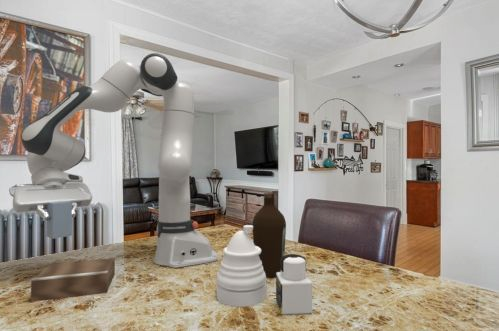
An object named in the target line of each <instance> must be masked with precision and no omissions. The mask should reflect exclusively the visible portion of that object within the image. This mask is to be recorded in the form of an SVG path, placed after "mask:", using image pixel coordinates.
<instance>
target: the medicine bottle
mask: <svg viewBox="0 0 499 331" xmlns="http://www.w3.org/2000/svg"><path fill="white" fill-rule="evenodd" d="M275 283H276V284H275V300H276V304H277V306H278V309H279V311H280V313H281V315H302V314H303V315H304V314H307V315H308V314H313V281H312V280H311V279H310V278H309V277H308V275H307V259H306V257H305V256H303V255H301V254H296V253H287V254H285V255H284V256H282V257H281V272H277V273H276V277H275Z"/></svg>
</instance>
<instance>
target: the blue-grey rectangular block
mask: <svg viewBox="0 0 499 331" xmlns="http://www.w3.org/2000/svg"><path fill="white" fill-rule="evenodd" d="M48 212H49V213H50V216H51V218H50V220H48V221H46V234H45V235H46V237H47V238H50V239H60V238H65V237H71V236H73V218H72V202H69V201H62V202H48V204H47V210H46V213H48Z"/></svg>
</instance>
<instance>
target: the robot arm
mask: <svg viewBox="0 0 499 331" xmlns="http://www.w3.org/2000/svg"><path fill="white" fill-rule="evenodd" d="M138 91H142V92H144V93H147V94H150V95H152V96H155V97H163V108H162V109H163V110H162V120H161V121H162V122H161V124H162V125H161V132H160V144H159V145H160V146H159V154H158V173H159V174H158V220H157V224H156V236H157V243H156V251H155V255H154V258H153V262H154V264H156V265H159V266H160V265H161V266H163V267H164V266H166V267H170V268H174V269H176V268H183V267H188V266H193V265H194V266H195V265H200V264H207V263H212V262H216V261H217V260H218V252H216V251H215V250H214V249H212V246H211V242H210V240H209V238H207V237H206V236H205V235H204V234H202V232H200V231H199V230H197V228H198V227H199V223H198V222H197V221H196V220H193V219H191V190H190V189H191V188H190V174H191V172H192V166H193V165H192V164H193V142H194V141H193V138H194V137H193V136H194V126H195V125H194V124H195V111H196V110H195V93H194V90H193V88H192V87H191V86H190V85H189V84H187V83H185V82H181V81H178V75H177V73H176V71H175V69H174V67H173V65H172V62H170V60H169V59H168V58H167V57H166V56H165V55H163V54H161V53H156V52H153V53H150V54H147V55H146V56H145V57H143V58H142V60H141V62H140V65H137V64H136V63H135V62H134V61H131V60H129V59H120V60H118V61H117V62H116V63H114V64H113V65H112V66H111V67H109V69H108V70H106V71H105V72H104V73H103V75H102V76H101V77H100V78H99V79H98V80H97V81H96V82H94V83H92V84H90V85H88V86H87V85H82V86H79V87H77V88H76V89H75V90H72V91H71V92H70V93H69V94H68V95H67V96H65V97H64V98H63V99H61V100H60V101H59V102H58V103H57V104H55V105H54V106H52V108H51V109H50V110H48V111H47V112H46V113H44V114H43V115H42V116H41V117H39V118H38V119H36V120H34V121H32V122H30V124H28V125H27V126H26V127H24V129H23V130H22V132H21V135H20V140H21V143H22V146H23V148H24V150H25V151H26V152H27V155H26V163H27V168H28V171H29V174H31V177H30V178H31V183H26V184H23V183H22V184H18V183H17V184H14V185H13V186H10V187H9V189H8V191H9V195H10V196H11V197H12V210H13V211H14V212H16V213H26V212H35V213H36V214H37V215H38V216H40V217H41V218H42V221H43V222H47V221H48V220H50V218H51V216H50V213H49V212H48V213H47V204H48V202H62V201H69V202H72V219H74V218H75V217H76V208H80V207H88V206H90V204H91V202H92V201H93V194H92V192H91V191H90V188H89V187H88V185H87V184H86V183H84V178H83V176H82V175H77V174H72V173H68V172H66V171H68V170H70V169H72V168H75V166H77V165H79V164H81V163H82V161H83V160H84V159H85V156H86V149H87V148H86V146H85V143H84V142H83V141H81V140H80V139H78V138H76V137H75V136H72V135H70V134H68V133H67V132H65V131H63V130H61V129H60V128H61V127H62V126H63V125H65V123H66V122H68V121H70V119H71V118H72V117H74V116H75V115H76V114H77V113H78V112H80V111H83V110H94V111H98V112H103V113H116V112H119V111H120V110H122V109H124V107H126V105H127V104H128V102H129V101H130V100H131V99H132V97H133V96H134V95H135V94H136V93H137V92H138Z"/></svg>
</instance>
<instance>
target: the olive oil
mask: <svg viewBox="0 0 499 331" xmlns="http://www.w3.org/2000/svg"><path fill="white" fill-rule="evenodd" d="M263 193H264V194H263V195H264V197H263V205H262V207H261V208H260V209H259V210H258V211H257V212H256V213H255V214H254V216H253V219H252V224H251V225H252V226H253V230H252V241H253V243H254V245H255V246H257V247H259V248H261V253H260V254H259V258H260V260H261V261H262V266H263V269H264V272H265V274H266V278H276V273H277V272H281V257H282V256H284V255H286V253H285V252H286V250H285V249H286V237H287V236H286V235H287V222H286V219H285V216H284V214H283V213H282V212H281V211H280V210H279V209H278V208H277V206H276V205H275V193H274V192H263Z"/></svg>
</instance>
